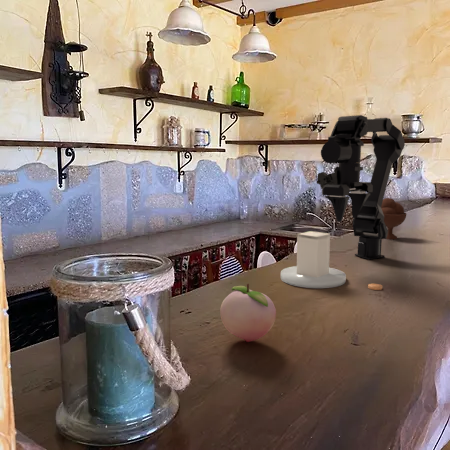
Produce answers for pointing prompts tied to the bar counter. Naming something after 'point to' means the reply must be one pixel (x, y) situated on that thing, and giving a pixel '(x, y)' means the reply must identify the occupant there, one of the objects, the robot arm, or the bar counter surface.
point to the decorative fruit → (247, 313)
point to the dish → (313, 278)
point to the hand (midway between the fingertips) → (347, 219)
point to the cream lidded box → (313, 253)
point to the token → (375, 286)
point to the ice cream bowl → (392, 215)
